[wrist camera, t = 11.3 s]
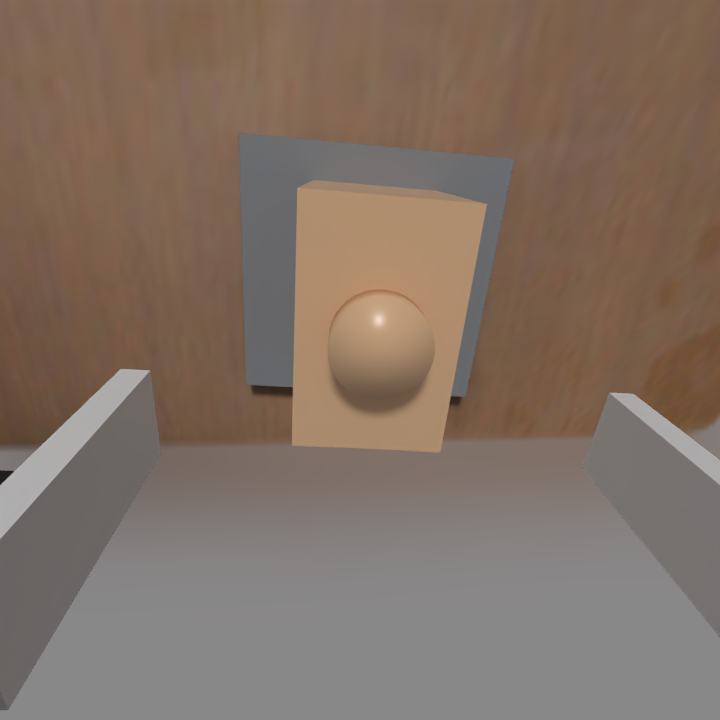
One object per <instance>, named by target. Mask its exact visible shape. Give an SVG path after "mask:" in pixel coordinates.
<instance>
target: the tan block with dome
mask: <svg viewBox="0 0 720 720" xmlns="http://www.w3.org/2000/svg"><path fill="white" fill-rule="evenodd" d="M486 207H487V204H485V203H481V202H477V201H474V200H470V199H466V198H462V197H458V196H455V195H451V194H447V193H443V192H439V191H433V190H422V189H410V188H399V187H387V186H375V185H364V184H352V183H341V182H329V181H318V180H313V181H311V182H308V183H306V184H304V185H302V186H300V187H298V188H297V226H296V273H295V320H294V366H293V413H292V446H312V447H335V448H356V449H378V450H400V451H422V452H440V451H441V445H442V440H443V435H444V430H445V424H446V419H447V414H448V408H449V403H450V398H451V393H452V387H453V382H454V377H455V371H456V366H457V361H458V355H459V350H460V345H461V340H462V334H463V329H464V324H465V318H466V313H467V308H468V302H469V297H470V292H471V287H472V281H473V276H474V271H475V265H476V260H477V255H478V249H479V244H480V239H481V234H482V228H483V223H484V218H485V212H486Z"/></svg>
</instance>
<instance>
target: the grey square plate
mask: <svg viewBox="0 0 720 720" xmlns="http://www.w3.org/2000/svg"><path fill="white" fill-rule="evenodd" d="M239 153H240V190H241V226H242V263H243V299H244V336H245V372H246V385H260V386H278V387H293V366H294V320H295V273H296V226H297V188H298V187H300V186H302V185H304V184H306V183H308V182H311V181H313V180H318V181H329V182H341V183H352V184H364V185H375V186H387V187H399V188H410V189H422V190H433V191H439V192H443V193H447V194H451V195H455V196H458V197H462V198H466V199H470V200H474V201H477V202H481V203H485V204H487V207H486V212H485V218H484V223H483V228H482V234H481V239H480V244H479V249H478V255H477V260H476V265H475V271H474V276H473V281H472V287H471V292H470V297H469V302H468V308H467V313H466V318H465V324H464V329H463V334H462V340H461V345H460V350H459V355H458V361H457V366H456V371H455V377H454V382H453V387H452V393H451V396H460V397H466V392H467V388H468V383H469V378H470V373H471V368H472V363H473V358H474V353H475V349H476V344H477V339H478V334H479V329H480V324H481V319H482V314H483V310H484V305H485V300H486V295H487V290H488V285H489V280H490V275H491V271H492V266H493V261H494V256H495V251H496V246H497V241H498V236H499V231H500V227H501V222H502V217H503V212H504V207H505V202H506V197H507V192H508V188H509V183H510V178H511V173H512V168H513V163H514V159H513V158H502V157H491V156H480V155H470V154H459V153H448V152H437V151H427V150H416V149H405V148H395V147H384V146H373V145H362V144H352V143H341V142H330V141H320V140H309V139H298V138H287V137H277V136H266V135H255V134H245V133H239Z"/></svg>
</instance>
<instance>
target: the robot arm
mask: <svg viewBox="0 0 720 720" xmlns="http://www.w3.org/2000/svg"><path fill="white" fill-rule="evenodd" d="M160 455H161V451H160V443H159V435H158V428H157V420H156V412H155V404H154V396H153V388H152V380H151V372H150V370H130V369H120V370H119V371H118V372H117V373H116V374H115V375H114V376H113V377H112V378H111V379H110V380H109V381H108V382H107V383H106V384H105V385H104V386H103V387H102V388H101V389H100V390H99V391H97V392H96V393H95V394H94V395H93V396H92V397H91V398H90V399H89V400H88V401H87V402H86V403H85V404H84V405H83V406H82V407H81V408H80V409H79V410H78V411H77V412H76V413H75V414H74V415H73V416H72V417H70V418H69V419H68V420H67V421H66V422H65V423H64V424H63V425H62V426H61V427H60V428H59V429H58V430H57V431H56V432H55V433H54V434H53V435H52V436H51V437H50V438H49V439H48V440H47V441H46V442H45V443H43V444H42V445H41V446H40V447H39V448H38V449H37V450H36V451H35V452H34V453H33V454H32V455H31V456H30V457H29V458H28V459H27V460H26V461H25V462H24V463H23V464H22V465H21V466H20V467H19V468H17V469H16V470H15V471H0V710H8V709H9V708H10V706H11V704H12V703H13V701H14V699H15V698H16V696H17V694H18V693H19V691H20V689H21V688H22V686H23V684H24V683H25V681H26V679H27V678H28V676H29V674H30V673H31V671H32V669H33V668H34V666H35V664H36V663H37V661H38V659H39V658H40V656H41V654H42V653H43V651H44V649H45V648H46V646H47V644H48V642H49V641H50V639H51V637H52V636H53V634H54V632H55V631H56V629H57V627H58V626H59V624H60V622H61V621H62V619H63V617H64V616H65V614H66V612H67V611H68V609H69V607H70V606H71V604H72V602H73V600H74V599H75V597H76V596H77V594H78V592H79V591H80V589H81V587H82V585H83V584H84V582H85V580H86V579H87V577H88V575H89V573H90V572H91V570H92V569H93V567H94V565H95V564H96V562H97V560H98V558H99V557H100V555H101V554H102V552H103V550H104V549H105V547H106V545H107V544H108V542H109V540H110V538H111V537H112V535H113V534H114V532H115V530H116V528H117V527H118V525H119V523H120V522H121V520H122V518H123V517H124V515H125V513H126V512H127V510H128V508H129V507H130V505H131V503H132V502H133V500H134V498H135V497H136V495H137V493H138V492H139V490H140V488H141V486H142V485H143V483H144V481H145V480H146V478H147V476H148V475H149V473H150V471H151V470H152V468H153V466H154V465H155V463H156V461H157V460H158V458H159V456H160ZM582 469H583V470H584V471H585V472H586V473H587V475H588V476H589V477H590V478H591V479H592V481H593V482H594V483H595V484H596V486H597V487H598V488H599V489H600V491H601V492H602V493H603V494H604V496H605V497H606V498H607V499H608V500H609V502H610V503H611V504H612V505H613V507H614V508H615V509H616V510H617V511H618V513H619V514H620V515H621V516H622V518H623V519H624V520H625V521H626V523H627V524H628V525H629V526H630V527H631V529H632V530H633V531H634V532H635V533H636V535H637V536H638V537H639V538H640V540H641V541H642V542H643V543H644V545H645V546H646V547H647V548H648V549H649V550H650V552H651V553H652V554H653V555H654V557H655V558H656V559H657V560H658V562H659V563H660V564H661V565H662V567H663V568H664V569H665V570H666V572H667V573H668V574H669V575H670V576H671V578H672V579H673V580H674V581H675V583H676V584H677V585H678V586H679V588H680V589H681V590H682V591H683V592H684V594H685V595H686V596H687V597H688V599H689V600H690V601H691V602H692V603H693V605H694V606H695V607H696V608H697V609H698V611H699V612H700V613H701V614H702V616H703V617H704V618H705V619H706V621H707V622H708V623H709V624H710V626H711V627H712V628H713V629H714V630H715V632H716V633H717V634H718V635H719V636H720V460H719V459H717V458H716V457H715V456H714V455H712V454H711V453H710V452H708V451H707V450H706V449H704V448H703V447H702V446H701V445H699V444H698V443H697V442H695V441H694V440H693V439H691V438H690V437H689V436H688V435H686V434H685V433H684V432H682V431H681V430H680V429H678V428H677V427H676V426H674V425H673V424H672V423H671V422H669V421H668V420H667V419H665V418H664V417H663V416H661V415H660V414H659V413H658V412H656V411H655V410H654V409H652V408H651V407H650V406H648V405H647V404H646V403H645V402H643V401H642V400H641V399H639V398H638V397H637V396H635V395H634V394H623V393H609V395H608V397H607V400H606V403H605V406H604V408H603V411H602V414H601V417H600V420H599V422H598V425H597V428H596V431H595V434H594V436H593V439H592V442H591V445H590V448H589V450H588V453H587V456H586V459H585V462H584V464H583V467H582Z"/></svg>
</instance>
